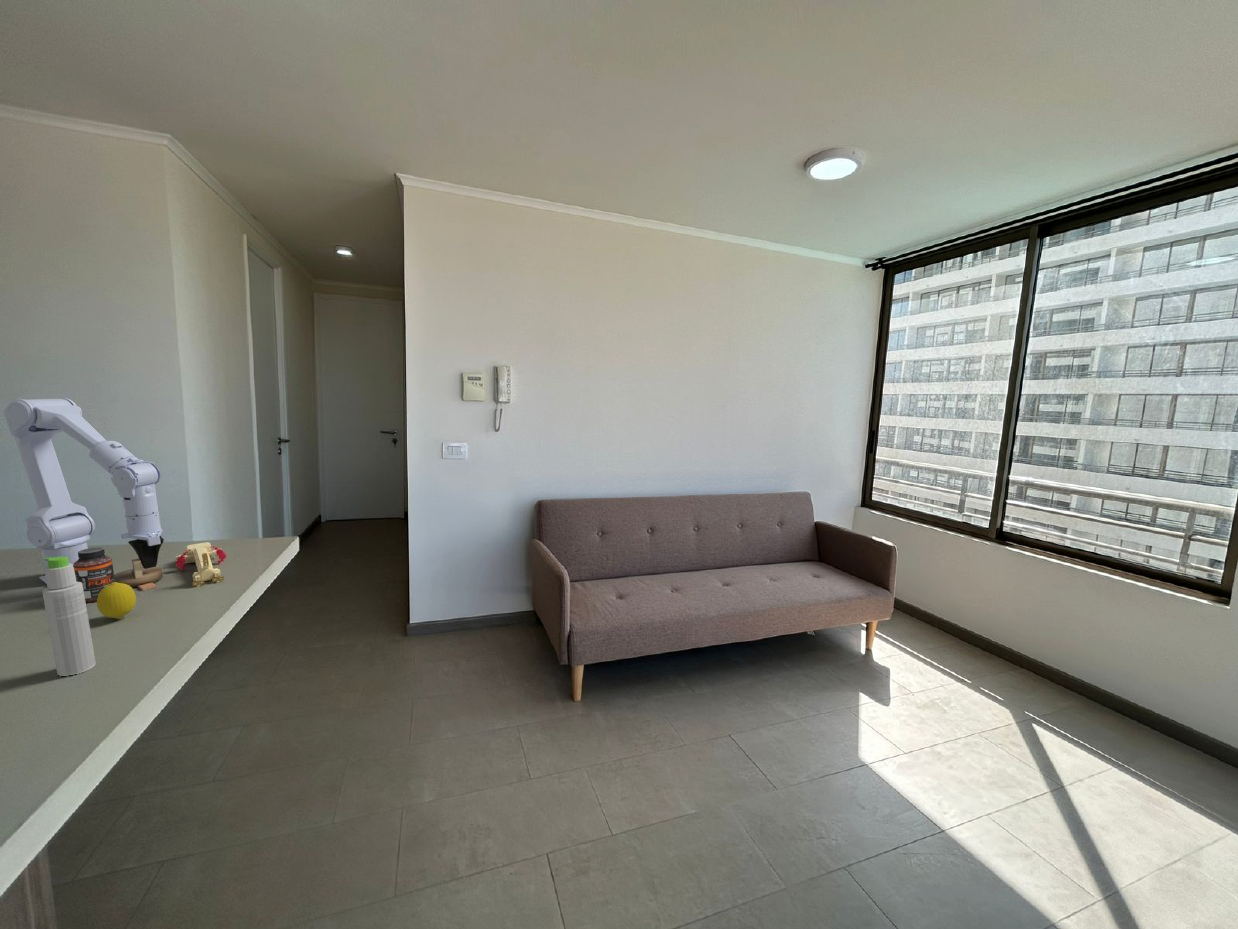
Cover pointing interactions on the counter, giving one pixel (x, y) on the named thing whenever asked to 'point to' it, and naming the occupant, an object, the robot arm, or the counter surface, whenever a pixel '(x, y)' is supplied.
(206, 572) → the toy vehicle
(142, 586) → the salmon square tile
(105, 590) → the lemon
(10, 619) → the counter surface
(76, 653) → the bottle
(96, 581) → the supplement bottle
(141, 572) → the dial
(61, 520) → the robot arm
